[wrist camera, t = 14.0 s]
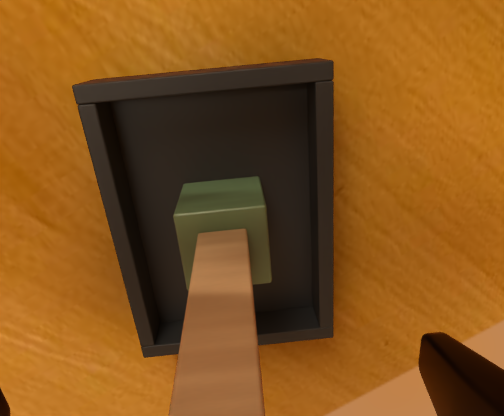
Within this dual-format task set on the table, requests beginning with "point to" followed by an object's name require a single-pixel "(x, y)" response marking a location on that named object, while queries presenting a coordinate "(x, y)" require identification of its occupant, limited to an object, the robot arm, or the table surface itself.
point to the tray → (218, 168)
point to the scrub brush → (221, 297)
